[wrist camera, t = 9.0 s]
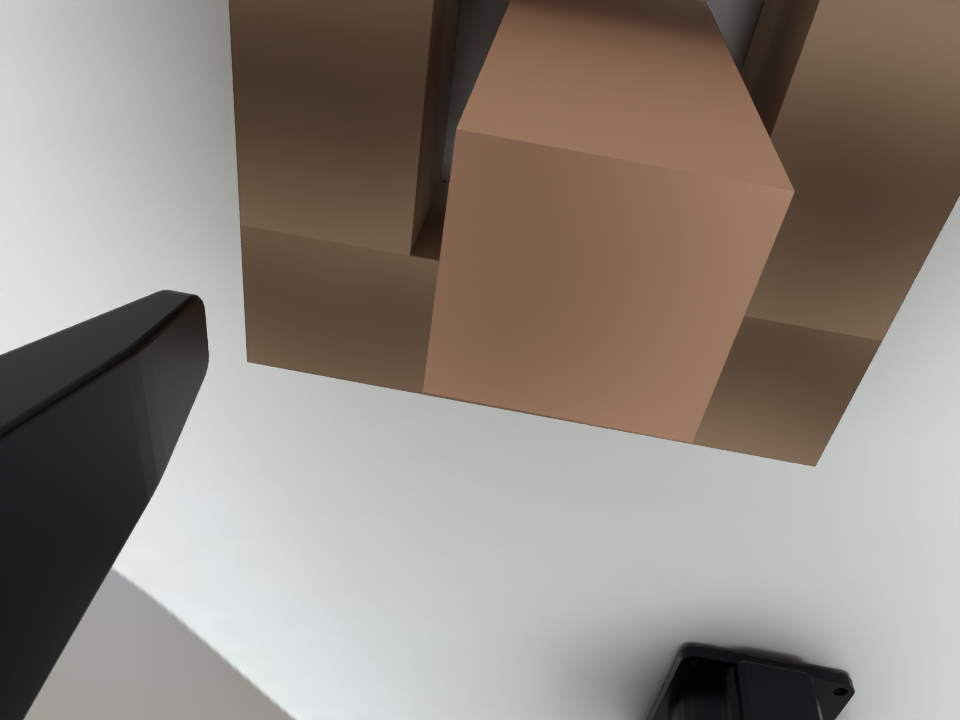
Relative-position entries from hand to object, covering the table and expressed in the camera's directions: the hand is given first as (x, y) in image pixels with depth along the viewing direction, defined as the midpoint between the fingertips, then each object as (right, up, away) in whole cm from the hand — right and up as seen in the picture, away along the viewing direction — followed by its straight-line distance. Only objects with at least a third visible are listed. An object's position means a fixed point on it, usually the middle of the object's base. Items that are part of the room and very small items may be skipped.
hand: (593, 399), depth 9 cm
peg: (+1, +7, +10) cm, 12 cm away
